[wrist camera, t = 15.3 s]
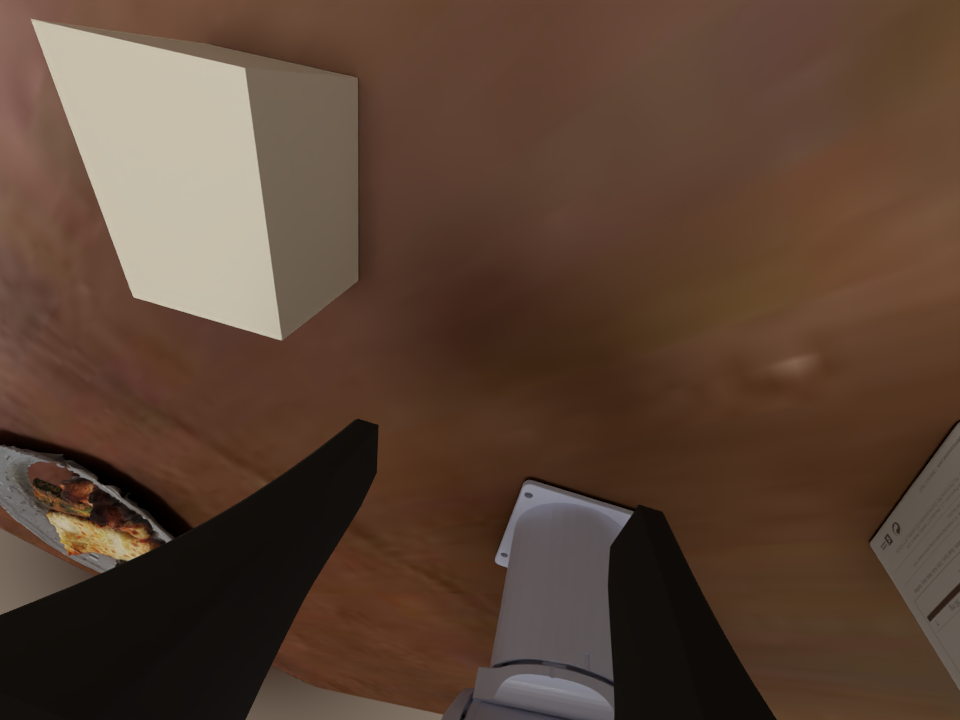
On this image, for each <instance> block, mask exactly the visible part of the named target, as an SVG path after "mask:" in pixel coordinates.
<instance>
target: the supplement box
mask: <svg viewBox="0 0 960 720" xmlns="http://www.w3.org/2000/svg"><path fill="white" fill-rule="evenodd" d="M870 546H871V548H872V549H873V551H874V552H875V554H876V555H877V557H878V559H879V560H880V562H881V563H882V565H883V566H884V568H885V570H886V571H887V573H888V574H889V576H890V578H891V579H892V581H893V583H894V584H895V586H896V587H897V589H898V591H899V592H900V594H901V596H902V597H903V599H904V601H905V602H906V604H907V606H908V607H909V609H910V610H911V612H912V614H913V615H914V617H915V619H916V620H917V622H918V623H919V625H920V627H921V628H922V630H923V632H924V633H925V635H926V637H927V638H928V640H929V641H930V643H931V645H932V646H933V648H934V649H935V651H936V653H937V654H938V656H939V658H940V659H941V661H942V662H943V664H944V666H945V667H946V669H947V671H948V672H949V674H950V675H951V677H952V679H953V680H954V682H955V684H956V685H957V687H958V688H959V690H960V422H959V423H958V424H957V425H956V426H955V427H954V429H953V430H952V431H951V433H950V434H949V436H948V437H947V438H946V440H945V441H944V442H943V444H942V445H941V447H940V448H939V449H938V451H937V452H936V453H935V455H934V456H933V458H932V459H931V460H930V462H929V463H928V464H927V466H926V467H925V469H924V470H923V471H922V472H921V474H920V475H919V476H918V478H917V479H916V480H915V482H914V483H913V484H912V486H911V487H910V488H909V490H908V491H907V492H906V494H905V495H904V497H903V498H902V499H901V501H900V502H899V504H898V505H897V506H896V508H895V509H894V510H893V512H892V513H891V515H890V516H889V517H888V519H887V520H886V521H885V523H884V524H883V526H882V527H881V528H880V530H879V531H878V533H877V534H876V535H875V537H874V538H873V539H872V541H871V542H870Z"/></svg>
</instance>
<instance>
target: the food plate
mask: <svg viewBox="0 0 960 720" xmlns="http://www.w3.org/2000/svg"><path fill="white" fill-rule="evenodd" d="M63 455H64V454H52V453H41V452H35V451H31V450H29V449H20V448H16V447H15V446H11V447H10V446H9V447H6V445H0V506H2V507H4V509H6V510H7V511H6V512H8V513H9V514H10V515H11V516H12V517H13V518H14V519H16V520H17V522H19V523H21V524H23V525H24V526H26V528H27V529H29V530H30V531H31V532H33V534H35V535H37V536H38V537H39V538H40V539H42V540H43V541H45V542H46V543H47V544H49V545H51V546H52V547H54V548H55V549H57V550H59V551H60V552H62V553H64V554H65V555H67V556H68V557H70V558H71V559H73V560H75V561H77V562H79V563H81V564H83V565H85V566H88V567H90V568H92V569H94V570H96V571H98V572H100V573H103V572H105V571H107V570H109V569H112V568H114V567H116V566H118V565H120V564H123V563H125V562H127V561H129V560H131V559H134V558H136V557H138V556H140V555H142V554H144V553H147V552H149V551H151V550H153V549H155V548H157V547H159V546H161V545H163V544H165V543H167V542H169V541H171V540H173V539H174V536H172V535H171V534H170V533H168V532H167V531H166V530H165V529H164V528H163V527H161V525H159V523H158V522H157V521H156V519H154V518H153V517H152V515H150V513H149V512H148V511H147V510H145V509H141V508H139V507H138V506H137V503H134V502H133V501H132V500H130V499H128V497H127V496H128V494H131V493H127V494H126V495H125V497H124V498H125V499H123V498H122V497H121V494H122V493H123V492H122V491H120V489H118V488H117V487H116V486H106V485H103V483H100V482H99V481H98V480H97V479H98V477H97V476H96V475H95V474H94V473H92V472H91V471H89V470H88V469H86V468H84V467H83V466H81V465H79V464H77V463H76V462H74V461H73V460H68V461H67V460H66V459H65V458H64V457H63ZM39 461H42V462H54V463H55V464H57V466H58V467H65V466H66V467H67V468H68V470H70V471H74V473H78V474H79V475H80V477H78V476H74V477H73V478H74V479H73V478H72V479H71V480H68V481H65V480H63V481H61V483H60V486H59V487H58V486H55V485H52V484H50V483H47V482H44V481H42V480H39V479H38V478H36V479H34V480H33V481H34V482H33V483H32V484H31V483H30V480H29V479H28V477H27V476H28V475H27V472H28V470H27V468H28V467H29V466H30V465H29V464H32V463H35V462H39ZM100 480H101V479H100ZM60 487H61V488H60ZM62 488H63V489H62ZM51 508H52V509H51ZM87 516H88V517H89V518H88V517H87Z"/></svg>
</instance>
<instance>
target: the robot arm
mask: <svg viewBox="0 0 960 720" xmlns="http://www.w3.org/2000/svg"><path fill="white" fill-rule="evenodd" d="M377 449H378V425H377V424H373V423H370V422H367V421H364V420H360V419H356V420H354V421H353V422H352V423H350V424H349V425H348V426H347V427H345V428H344V429H343V430H342V431H340V432H339V433H338V434H337V435H335V436H334V437H333V438H331V439H330V440H329V441H328V442H326V443H325V444H324V445H322V446H321V447H320V448H318V449H317V450H316V451H314V452H313V453H312V454H310V455H309V456H308V457H306V458H305V459H303V460H302V461H301V462H299V463H298V464H297V465H295V466H294V467H292V468H291V469H290V470H288V471H287V472H285V473H284V474H282V475H281V476H279V477H278V478H276V479H275V480H273V481H272V482H270V483H269V484H267V485H266V486H264V487H263V488H261V489H260V490H258V491H257V492H255V493H254V494H252V495H250V496H249V497H247V498H246V499H244V500H242V501H241V502H239V503H237V504H236V505H234V506H232V507H231V508H229V509H227V510H226V511H224V512H222V513H220V514H219V515H217V516H215V517H213V518H212V519H210V520H208V521H206V522H205V523H203V524H201V525H199V526H197V527H195V528H193V529H192V530H190V531H188V532H186V533H184V534H182V535H180V536H178V537H176V538H174V539H173V540H171V541H169V542H167V543H165V544H163V545H161V546H159V547H157V548H155V549H153V550H151V551H149V552H147V553H144V554H142V555H140V556H138V557H136V558H134V559H131V560H129V561H127V562H125V563H123V564H120V565H118V566H116V567H114V568H112V569H109V570H107V571H105V572H103V573H101V574H99V575H96V576H94V577H92V578H90V579H87V580H85V581H83V582H80V583H78V584H76V585H74V586H71V587H69V588H66V589H64V590H61V591H59V592H56V593H54V594H51V595H49V596H46V597H44V598H41V599H39V600H37V601H34V602H31V603H29V604H27V605H24V606H22V607H19V608H17V609H14V610H12V611H9V612H7V613H4V614H1V615H0V720H245V719H246V717H247V715H248V713H249V711H250V709H251V707H252V704H253V702H254V700H255V698H256V696H257V694H258V692H259V689H260V687H261V685H262V683H263V681H264V679H265V677H266V675H267V673H268V670H269V669H270V666H271V665H272V663H273V660H274V658H275V656H276V654H277V652H278V650H279V648H280V646H281V644H282V642H283V640H284V638H285V636H286V634H287V632H288V630H289V628H290V626H291V624H292V622H293V620H294V618H295V616H296V614H297V612H298V610H299V608H300V606H301V605H302V603H303V601H304V599H305V597H306V595H307V593H308V592H309V590H310V588H311V586H312V585H313V583H314V581H315V580H316V578H317V576H318V575H319V573H320V572H321V570H322V568H323V567H324V565H325V563H326V562H327V560H328V559H329V557H330V555H331V554H332V552H333V551H334V549H335V547H336V546H337V544H338V543H339V541H340V539H341V538H342V536H343V534H344V533H345V531H346V530H347V528H348V526H349V525H350V523H351V521H352V520H353V518H354V517H355V515H356V513H357V512H358V510H359V508H360V507H361V505H362V503H363V500H364V498H365V496H366V494H367V492H368V490H369V488H370V486H371V484H372V482H373V479H374V477H375V475H376V473H377ZM495 562H496V563H497V564H499V565H501V566H504V567H507V573H506V579H505V585H504V590H503V596H502V602H501V607H500V613H499V618H498V624H497V630H496V635H495V641H494V647H493V652H492V658H491V664H490V668H486V667H479V668H478V673H477V678H476V683H475V688H474V689H472V688H467V689H464V690H463V691H462V692H460V693H459V695H458V696H457V697H456V699H455V700H454V701H453V703H452V704H451V705H450V706H449V707H448V708H447V710H446V712H445V713H444V715H443V718H442V719H441V720H777V719H776V718H775V716H774V715H773V713H772V712H771V710H770V709H769V707H768V706H767V704H766V702H765V701H764V699H763V698H762V696H761V695H760V693H759V692H758V690H757V688H756V687H755V685H754V684H753V682H752V680H751V679H750V677H749V675H748V674H747V672H746V670H745V669H744V667H743V665H742V664H741V662H740V660H739V658H738V657H737V655H736V653H735V652H734V650H733V648H732V646H731V645H730V643H729V641H728V639H727V638H726V636H725V634H724V632H723V630H722V629H721V627H720V625H719V623H718V621H717V620H716V618H715V616H714V614H713V612H712V610H711V608H710V606H709V604H708V603H707V601H706V599H705V597H704V595H703V593H702V591H701V589H700V587H699V585H698V583H697V581H696V579H695V577H694V575H693V573H692V571H691V569H690V567H689V565H688V563H687V561H686V559H685V557H684V555H683V553H682V551H681V549H680V547H679V545H678V543H677V541H676V539H675V537H674V535H673V532H672V530H671V528H670V526H669V524H668V522H667V520H666V518H665V516H664V514H663V512H661V511H658V510H654V509H651V508H648V507H645V506H641V505H638V507H637V508H636V509H635V511H631V510H627V509H624V508H621V507H618V506H614V505H611V504H608V503H605V502H601V501H598V500H595V499H592V498H588V497H585V496H582V495H579V494H575V493H572V492H569V491H566V490H562V489H559V488H556V487H553V486H549V485H546V484H543V483H540V482H536V481H533V480H527V481H525V482H524V483H523V486H522V488H521V491H520V493H519V496H518V499H517V501H516V504H515V507H514V509H513V512H512V514H511V517H510V520H509V522H508V525H507V528H506V530H505V533H504V535H503V538H502V541H501V543H500V546H499V548H498V551H497V554H496V557H495Z"/></svg>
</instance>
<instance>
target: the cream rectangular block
mask: <svg viewBox="0 0 960 720" xmlns="http://www.w3.org/2000/svg"><path fill="white" fill-rule="evenodd" d="M31 21H32V23H33V26H34V29H35V31H36V34H37V37H38V40H39V42H40V45H41V48H42V50H43V53H44V56H45V59H46V61H47V64H48V67H49V69H50V72H51V75H52V78H53V80H54V83H55V86H56V88H57V91H58V94H59V97H60V99H61V102H62V105H63V108H64V110H65V113H66V116H67V118H68V121H69V124H70V127H71V129H72V132H73V135H74V137H75V140H76V143H77V146H78V148H79V151H80V154H81V156H82V159H83V162H84V165H85V167H86V170H87V173H88V175H89V178H90V181H91V184H92V186H93V189H94V192H95V194H96V197H97V200H98V203H99V205H100V208H101V211H102V213H103V216H104V219H105V222H106V224H107V227H108V230H109V232H110V235H111V238H112V241H113V243H114V246H115V249H116V251H117V254H118V257H119V260H120V262H121V265H122V268H123V271H124V273H125V276H126V279H127V281H128V284H129V287H130V290H131V292H132V295H133V297H135V298H138V299H141V300H145V301H148V302H152V303H155V304H159V305H162V306H165V307H169V308H172V309H176V310H179V311H183V312H186V313H189V314H193V315H196V316H200V317H203V318H206V319H210V320H213V321H217V322H220V323H224V324H227V325H230V326H234V327H237V328H241V329H244V330H247V331H251V332H254V333H258V334H261V335H265V336H268V337H271V338H275V339H278V340H284V339H285V338H286V337H287V336H289V335H290V334H291V333H292V332H294V331H295V330H296V329H298V328H299V327H300V326H301V325H303V324H304V323H305V322H306V321H308V320H309V319H310V318H311V317H313V316H314V315H315V314H317V313H318V312H319V311H320V310H322V309H323V308H324V307H325V306H327V305H328V304H329V303H331V302H332V301H333V300H334V299H336V298H337V297H338V296H339V295H341V294H342V293H343V292H345V291H346V290H347V289H348V288H350V287H351V286H352V285H353V284H355V283H356V282H357V281H358V78H357V77H353V76H348V75H344V74H339V73H335V72H330V71H326V70H321V69H317V68H313V67H308V66H304V65H299V64H295V63H290V62H286V61H281V60H277V59H273V58H268V57H264V56H259V55H255V54H250V53H246V52H241V51H237V50H232V49H228V48H224V47H219V46H215V45H210V44H205V43H198V42H191V41H184V40H177V39H170V38H162V37H155V36H148V35H141V34H134V33H127V32H120V31H113V30H106V29H99V28H92V27H84V26H77V25H70V24H63V23H56V22H49V21H42V20H35V19H31Z"/></svg>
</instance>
